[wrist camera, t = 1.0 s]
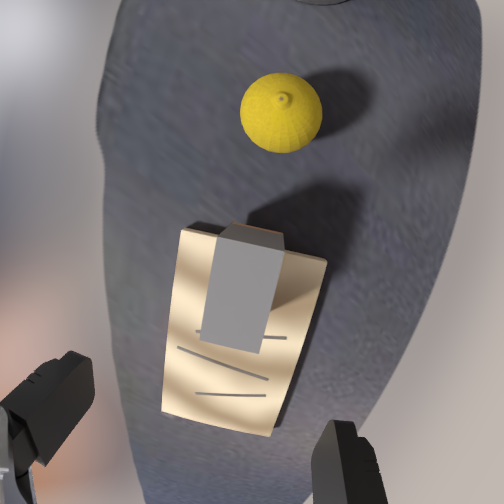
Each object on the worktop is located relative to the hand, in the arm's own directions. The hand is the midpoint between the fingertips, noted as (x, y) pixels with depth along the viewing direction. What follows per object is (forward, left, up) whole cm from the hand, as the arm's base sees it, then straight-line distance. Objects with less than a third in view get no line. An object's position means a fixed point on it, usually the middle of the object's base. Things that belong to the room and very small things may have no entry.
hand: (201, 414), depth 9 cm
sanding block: (0, 0, -17) cm, 17 cm away
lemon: (-12, 0, -18) cm, 22 cm away
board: (+8, 0, -18) cm, 20 cm away
